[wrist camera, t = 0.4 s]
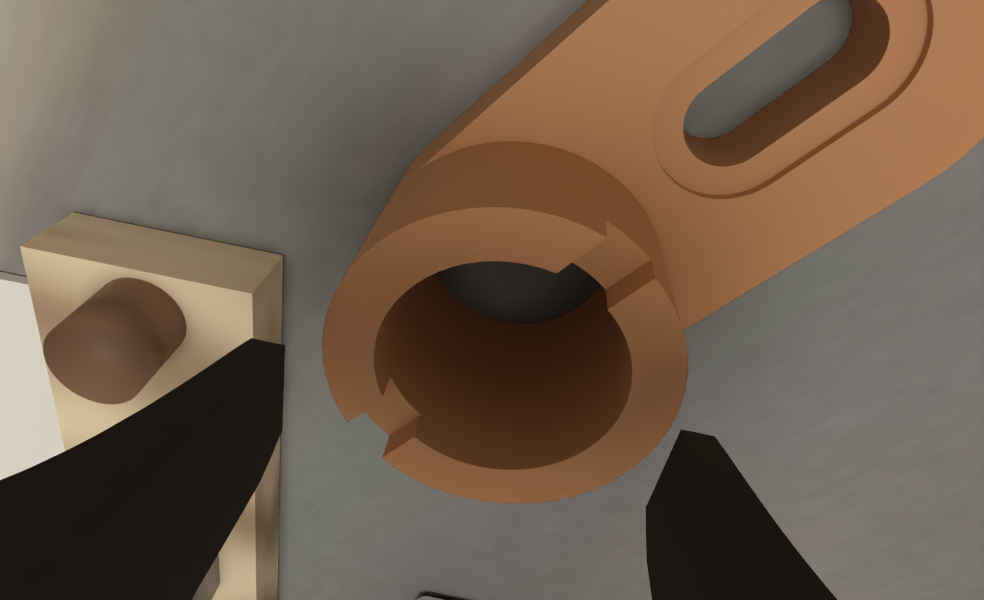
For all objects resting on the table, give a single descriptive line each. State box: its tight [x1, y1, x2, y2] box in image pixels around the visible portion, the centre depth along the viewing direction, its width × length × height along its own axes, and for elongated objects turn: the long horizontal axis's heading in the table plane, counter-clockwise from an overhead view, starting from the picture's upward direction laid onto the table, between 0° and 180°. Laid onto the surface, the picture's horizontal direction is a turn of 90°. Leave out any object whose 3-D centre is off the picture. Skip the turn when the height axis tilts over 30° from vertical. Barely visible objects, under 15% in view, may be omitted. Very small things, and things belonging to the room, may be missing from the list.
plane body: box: [20, 212, 283, 600], centre depth 26 cm, size 22×7×5 cm, turn 170°
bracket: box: [322, 0, 984, 503], centre depth 16 cm, size 18×8×7 cm, turn 132°
